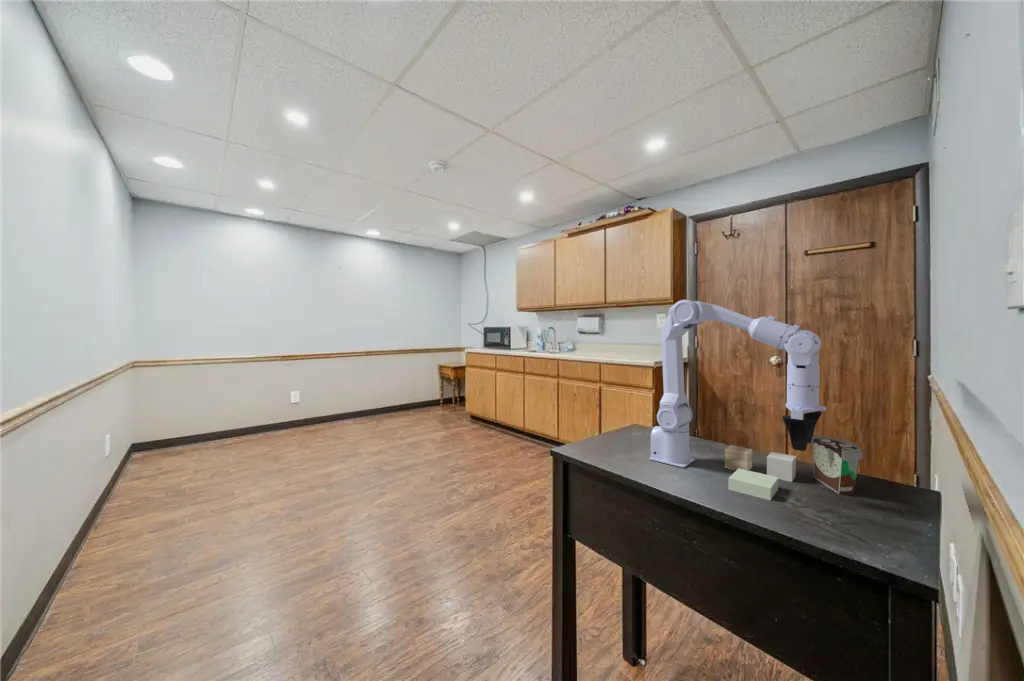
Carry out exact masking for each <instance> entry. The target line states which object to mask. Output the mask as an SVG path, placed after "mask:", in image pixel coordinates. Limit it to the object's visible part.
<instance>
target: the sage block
mask: <svg viewBox="0 0 1024 681" xmlns="http://www.w3.org/2000/svg"><path fill="white" fill-rule="evenodd" d="M727 482H728V483H727V484H728V486H727V487H728V488H727V490H729V491H733V492H736V493H740V494H744V495H748V496H752V497H756V498H760V499H763V500H766V501H771V500H772V499H773V498H774V496H775V495H776V493H777V491H778V490H779V479H778V477H775V476H770V475H767V473H766V474H764V473H761V472H756V471H752V470H750V471H748V470H744V469H739V468H738V469H737V470H736V471H735V470H734V472H733V473H732V474H731V475H730V476H729V477H728V481H727Z"/></svg>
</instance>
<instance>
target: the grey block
mask: <svg viewBox="0 0 1024 681" xmlns="http://www.w3.org/2000/svg"><path fill="white" fill-rule="evenodd" d="M796 463H797V456H796V455H791V454H785V453H781V452H775V451H770V453H769V454H768V455H767V456H766V475H770V476H775V477H778V480H780V479H781V480H780V481H786V482H791V483H792V482H793V481H794V480H795V478H796V476H797V471H796V470H797V469H796V468H797V466H796V465H797V464H796Z"/></svg>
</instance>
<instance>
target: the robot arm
mask: <svg viewBox="0 0 1024 681" xmlns="http://www.w3.org/2000/svg"><path fill="white" fill-rule="evenodd" d="M705 321H707V322H711V321H717V322H720V323H722V324H726V325H729V326H731V327H735V328H738V329H741V330H744V331H746V332H748V334H749V336H750V338H751V339H752V340H755V341H758V342H760V343H763V344H765V345H767V346H771V347H773V348H776V349H777V350H778V349H779V350H783V349H784V350H785V352H786V353H787V363H786V403H785V408H786V409H788V411H790V415H786V414H784V415H782V421H783V423H784V425H785V426H786V429H787V432H788V435H789V438H790V443H791V447H792V450H795V451H799V452H800V451H801V452H806V450H807V448H808V444H811V441H812V438H813V436H814V434H815V429H816V426H817V423H818V421H819V418H820V417H821V415H822V413H823V412H825V411H827V406H824V405H820V379H821V378H820V374H821V371H820V369H821V368H820V367H821V366H820V363H819V362H820V356H819V355H820V354H819V351H820V349H821V346H822V340H821V338H820V336H819V335H817V334H816V333H814V332H812V331H811V330H809V329H800V327H801V326H800V325H797V324H794V325H790V324H788V323H784V322H782V321H778V320H777V317H776V316H775V317H774V316H771V315H769V316H768V317H767V316H760V317H758V318H752V317H750V316H747V315H744V314H741V313H739V312H737V311H733V310H731V309H729V308H726V307H724V306H721V305H718V304H712V303H708V302H703V301H698V300H694V301H693V300H689V299H680V300H679V301H677V302H675V303H674V304H673V305H672V306H671V307H670V308H669V309H668V315H667V316H666V318H665V320H664V323H663V325H662V327H661V329H660V339H661V359H662V362H661V363H662V364H661V366H662V382H663V384H662V385H663V395H662V397H661V399H660V401H659V409H658V411H657V413H656V420H657V423H658V425H655V426H654V427H653V428H652V430H651V434H650V457H649V460H650V461H655V462H658V463H663V464H667V465H671V466H676V467H679V468H686V467H687V466H688V465H690V464H692V463H693V462H695V460H696V458H694V457H690V427H689V423H690V422H691V421H692V420H693V416H694V415H693V411H692V408H691V406H690V405H689V398H688V396H687V395H686V392H685V373H684V370H685V368H684V352H683V349H684V348H683V336H684V335H685V334H686V333H688V332H689V331H690V330H691V329H693V328H694V327H697V326H698V325H701V324H703V323H704V322H705Z"/></svg>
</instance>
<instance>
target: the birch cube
mask: <svg viewBox="0 0 1024 681" xmlns="http://www.w3.org/2000/svg"><path fill="white" fill-rule="evenodd" d="M726 468H728V469H727V470H730V469H731V471H735V470H737V469H738V468H739V469H744V470H748V471H751V470H752V469H753V449H752V448H747V447H743V446H737V445H732V444H731V445H729V446H728V447H726V448H725V449H724V469H726ZM751 468H752V469H751ZM750 469H751V470H750Z"/></svg>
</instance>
